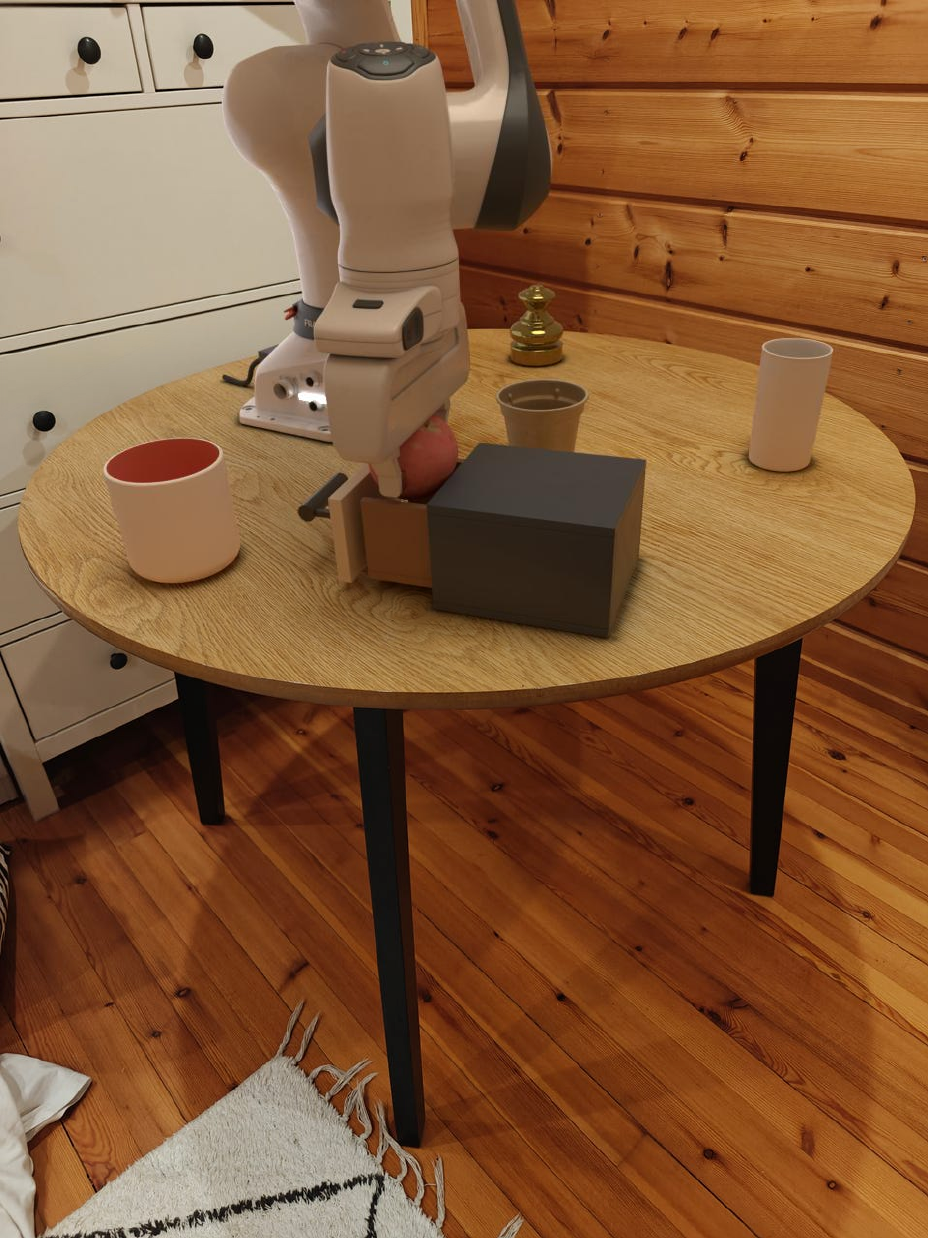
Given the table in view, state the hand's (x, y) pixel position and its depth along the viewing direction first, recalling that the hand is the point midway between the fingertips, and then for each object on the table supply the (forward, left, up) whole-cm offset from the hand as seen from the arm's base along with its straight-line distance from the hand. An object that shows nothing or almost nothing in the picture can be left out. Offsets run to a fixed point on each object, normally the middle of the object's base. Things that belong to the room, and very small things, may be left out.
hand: (414, 471), depth 75 cm
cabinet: (+11, 0, -9) cm, 14 cm away
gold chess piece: (-6, +59, -9) cm, 60 cm away
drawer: (-1, 0, -8) cm, 8 cm away
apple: (-2, 0, -2) cm, 3 cm away
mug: (+28, +33, -9) cm, 44 cm away
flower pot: (+5, +22, -9) cm, 24 cm away
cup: (-21, -5, -9) cm, 24 cm away
